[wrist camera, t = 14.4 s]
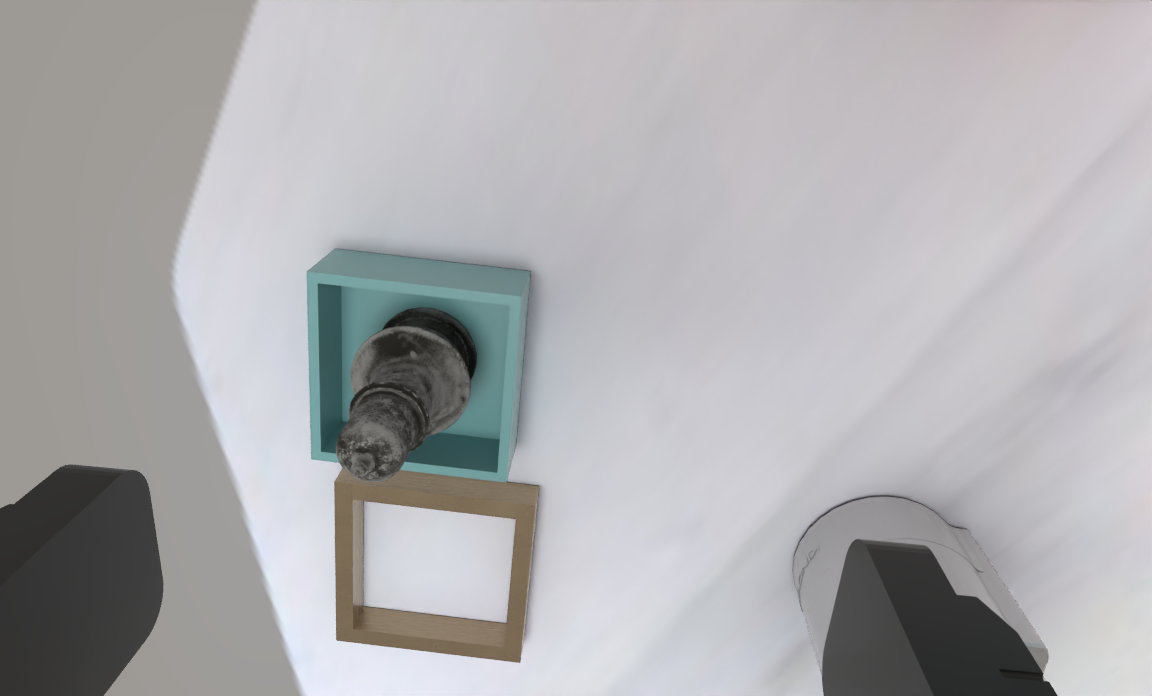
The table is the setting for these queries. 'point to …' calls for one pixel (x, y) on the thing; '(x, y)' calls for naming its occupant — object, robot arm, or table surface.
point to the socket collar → (426, 628)
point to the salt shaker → (405, 390)
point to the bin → (394, 284)
